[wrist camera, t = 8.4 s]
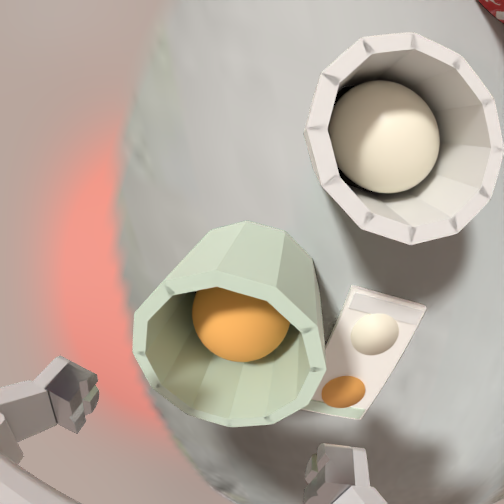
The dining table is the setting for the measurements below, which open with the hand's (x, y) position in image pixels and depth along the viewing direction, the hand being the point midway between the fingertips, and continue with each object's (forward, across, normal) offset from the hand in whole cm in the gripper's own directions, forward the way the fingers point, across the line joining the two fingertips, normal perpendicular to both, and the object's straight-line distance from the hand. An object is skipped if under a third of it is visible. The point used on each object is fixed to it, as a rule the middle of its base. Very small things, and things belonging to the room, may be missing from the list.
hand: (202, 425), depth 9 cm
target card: (+10, -8, +3) cm, 13 cm away
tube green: (+10, 0, 0) cm, 10 cm away
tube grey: (+10, -4, -10) cm, 15 cm away
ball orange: (+10, 0, 0) cm, 10 cm away
